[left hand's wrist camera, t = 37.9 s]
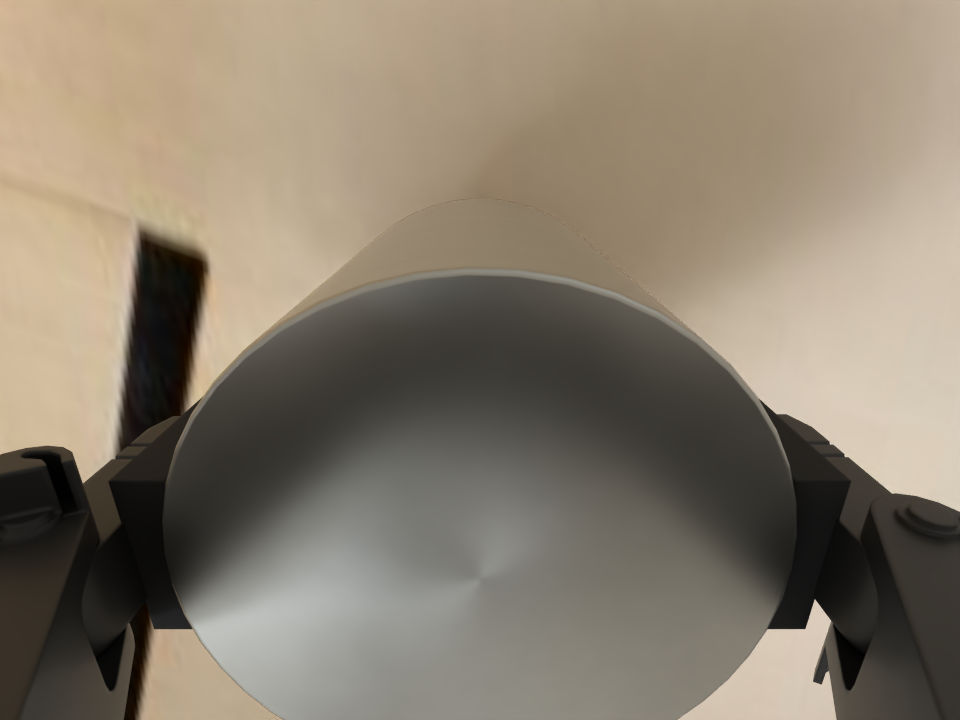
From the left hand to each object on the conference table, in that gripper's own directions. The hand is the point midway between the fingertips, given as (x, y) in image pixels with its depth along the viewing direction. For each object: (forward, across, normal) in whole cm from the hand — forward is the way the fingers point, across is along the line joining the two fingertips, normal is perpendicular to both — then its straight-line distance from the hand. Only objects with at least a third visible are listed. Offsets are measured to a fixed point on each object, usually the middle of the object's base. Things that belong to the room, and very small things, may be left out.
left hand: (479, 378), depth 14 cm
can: (+2, 0, 0) cm, 2 cm away
